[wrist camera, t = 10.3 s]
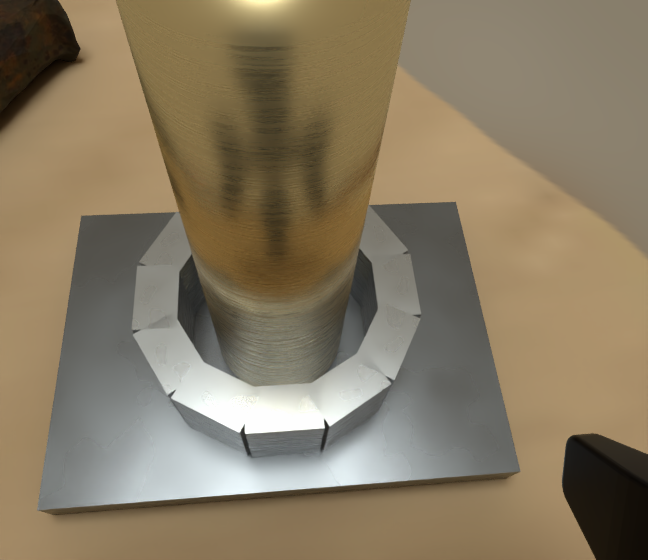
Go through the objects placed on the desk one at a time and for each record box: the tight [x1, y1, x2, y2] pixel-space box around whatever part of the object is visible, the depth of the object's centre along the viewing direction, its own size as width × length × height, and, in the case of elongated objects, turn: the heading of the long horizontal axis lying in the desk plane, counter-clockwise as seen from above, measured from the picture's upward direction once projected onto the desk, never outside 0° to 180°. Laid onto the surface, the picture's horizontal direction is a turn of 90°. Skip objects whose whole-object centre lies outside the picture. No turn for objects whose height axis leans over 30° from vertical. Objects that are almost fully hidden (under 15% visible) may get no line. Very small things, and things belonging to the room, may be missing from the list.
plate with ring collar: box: [37, 202, 520, 515], centre depth 18 cm, size 10×14×4 cm
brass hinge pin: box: [116, 0, 411, 387], centre depth 13 cm, size 4×4×13 cm
